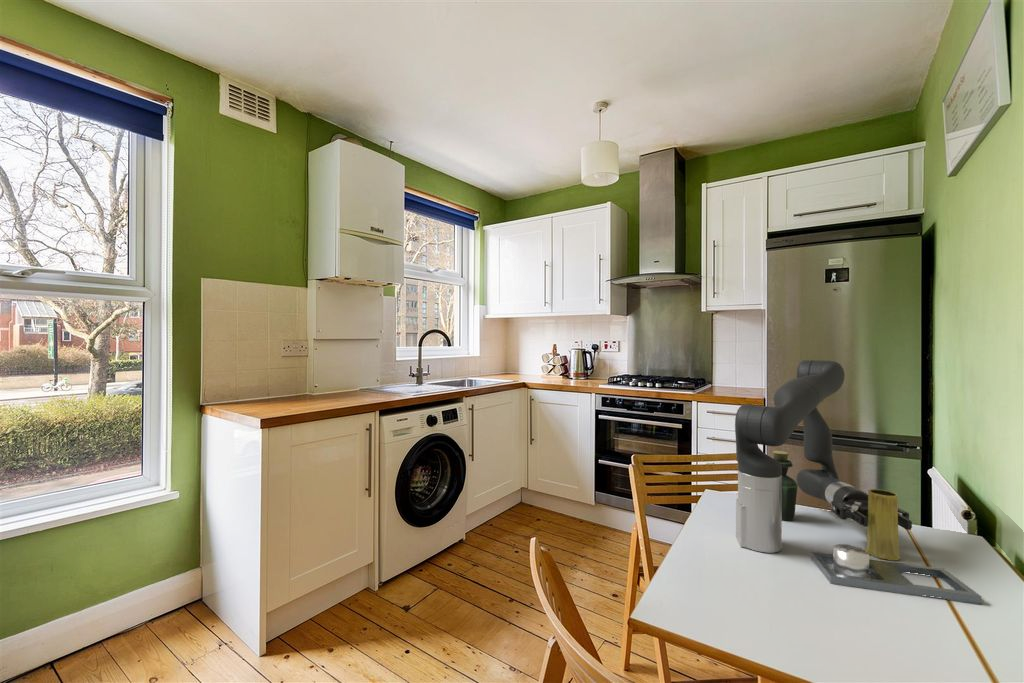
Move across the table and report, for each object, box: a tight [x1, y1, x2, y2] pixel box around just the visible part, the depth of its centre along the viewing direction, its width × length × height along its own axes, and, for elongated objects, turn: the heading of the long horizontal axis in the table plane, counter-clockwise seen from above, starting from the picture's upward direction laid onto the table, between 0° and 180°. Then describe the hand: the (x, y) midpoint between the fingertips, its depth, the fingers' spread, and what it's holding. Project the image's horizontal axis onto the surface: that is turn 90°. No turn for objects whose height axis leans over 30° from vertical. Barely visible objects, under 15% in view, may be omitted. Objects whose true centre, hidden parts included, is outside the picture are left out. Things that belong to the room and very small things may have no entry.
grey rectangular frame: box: [810, 543, 982, 605], centre depth 92 cm, size 24×11×5 cm, turn 73°
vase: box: [865, 488, 901, 561], centre depth 103 cm, size 6×6×14 cm
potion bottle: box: [772, 450, 799, 522], centre depth 126 cm, size 8×8×18 cm
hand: (887, 524), depth 101 cm, fingers open, 8 cm apart
